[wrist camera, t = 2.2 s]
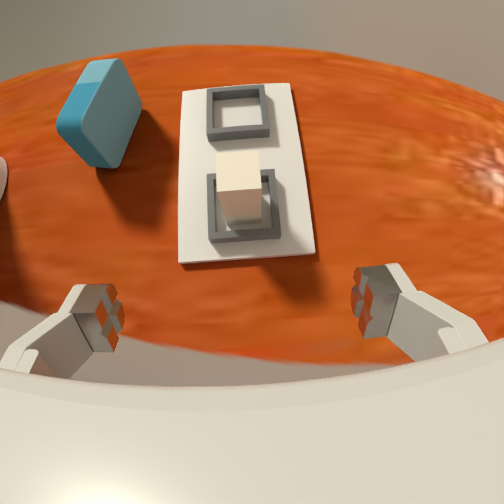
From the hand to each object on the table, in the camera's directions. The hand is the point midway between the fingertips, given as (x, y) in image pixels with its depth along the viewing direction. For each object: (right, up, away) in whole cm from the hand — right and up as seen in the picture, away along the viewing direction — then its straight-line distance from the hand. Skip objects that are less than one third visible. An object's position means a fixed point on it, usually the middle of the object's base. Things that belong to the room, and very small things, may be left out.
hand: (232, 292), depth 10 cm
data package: (-19, +19, +32) cm, 42 cm away
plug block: (0, +7, +28) cm, 29 cm away
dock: (-1, +13, +30) cm, 33 cm away
